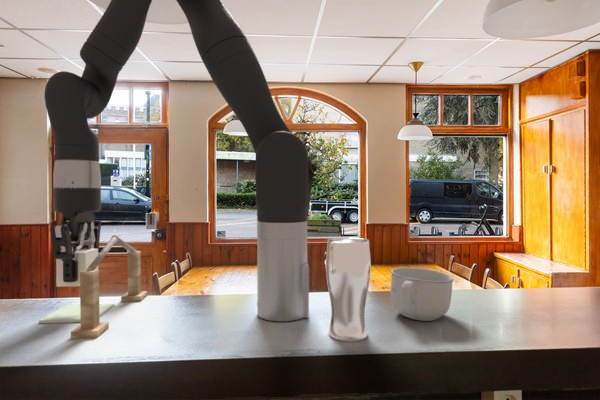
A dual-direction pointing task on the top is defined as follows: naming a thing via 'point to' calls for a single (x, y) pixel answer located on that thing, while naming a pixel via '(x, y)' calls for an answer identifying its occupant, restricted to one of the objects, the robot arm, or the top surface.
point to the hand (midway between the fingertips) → (78, 277)
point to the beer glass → (348, 287)
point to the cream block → (83, 263)
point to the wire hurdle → (91, 290)
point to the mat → (71, 314)
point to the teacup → (421, 292)
